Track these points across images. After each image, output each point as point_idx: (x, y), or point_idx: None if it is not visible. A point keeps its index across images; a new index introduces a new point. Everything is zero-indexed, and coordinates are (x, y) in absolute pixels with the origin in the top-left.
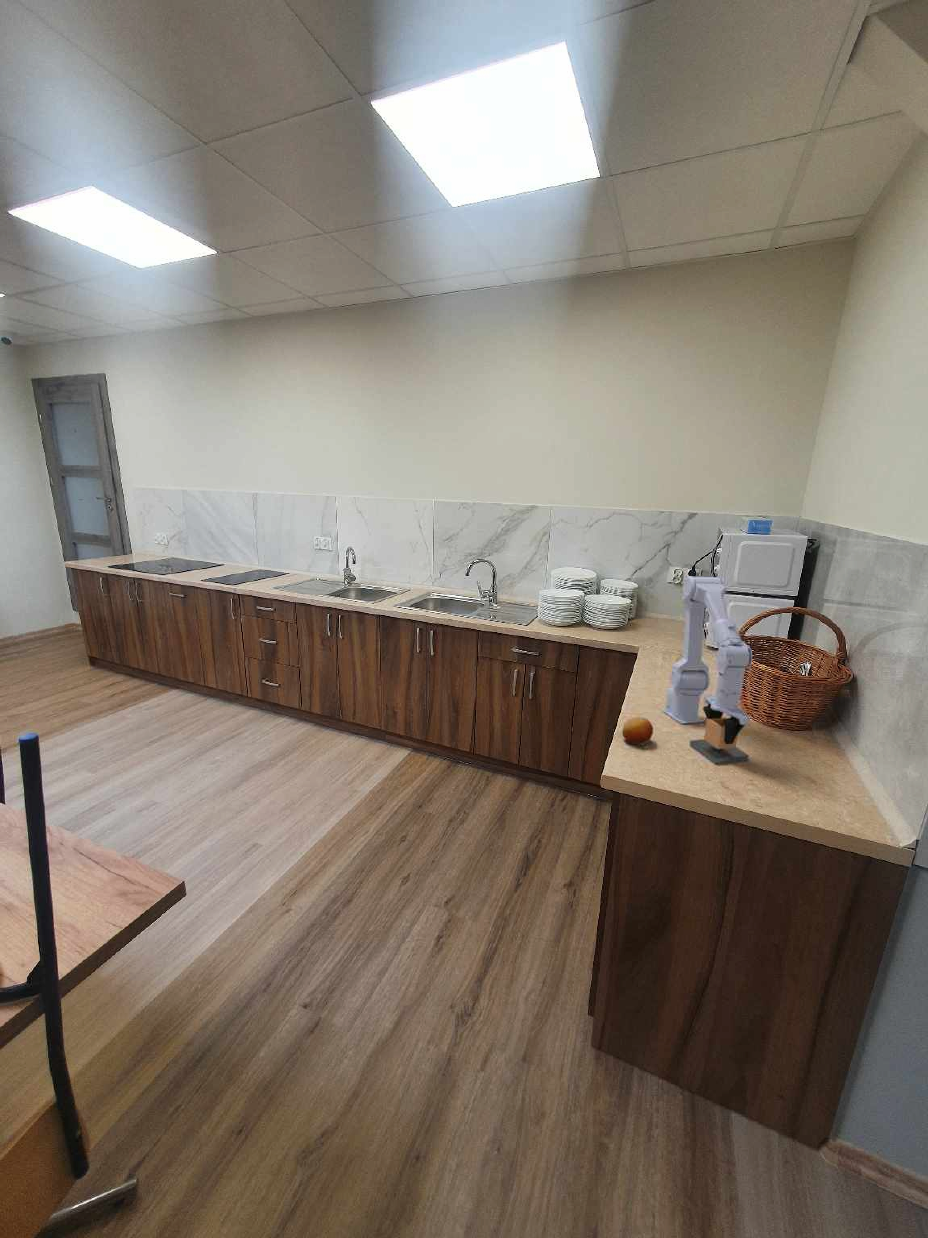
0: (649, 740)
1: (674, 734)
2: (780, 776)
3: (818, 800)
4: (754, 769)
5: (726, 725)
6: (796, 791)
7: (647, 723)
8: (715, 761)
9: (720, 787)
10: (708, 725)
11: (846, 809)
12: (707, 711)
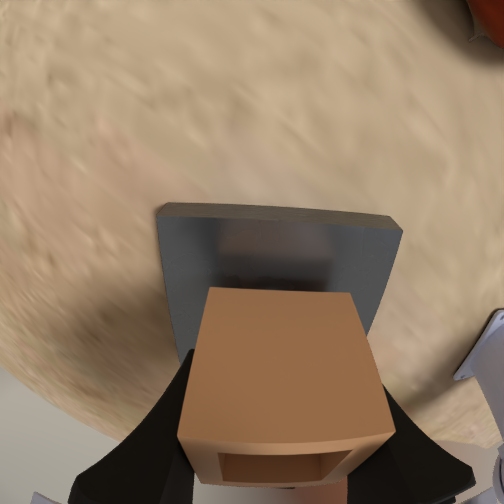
0: (475, 24)
1: (483, 229)
2: (92, 358)
3: (11, 335)
4: (124, 329)
5: (136, 474)
6: (29, 328)
7: None
8: (163, 209)
9: (11, 101)
10: (357, 391)
11: (3, 349)
12: (423, 492)
